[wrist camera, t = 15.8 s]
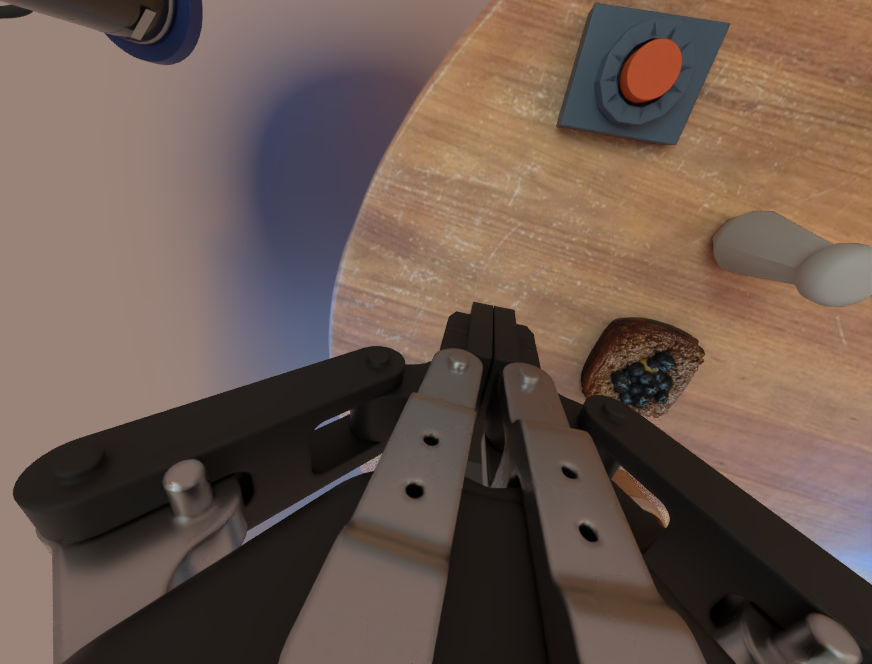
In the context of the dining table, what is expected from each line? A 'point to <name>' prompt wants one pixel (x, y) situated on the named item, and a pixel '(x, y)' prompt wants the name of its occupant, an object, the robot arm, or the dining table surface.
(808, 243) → the gray pawn figurine
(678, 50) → the button
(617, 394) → the pastry
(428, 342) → the dining table surface
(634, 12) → the control block
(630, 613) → the robot arm
